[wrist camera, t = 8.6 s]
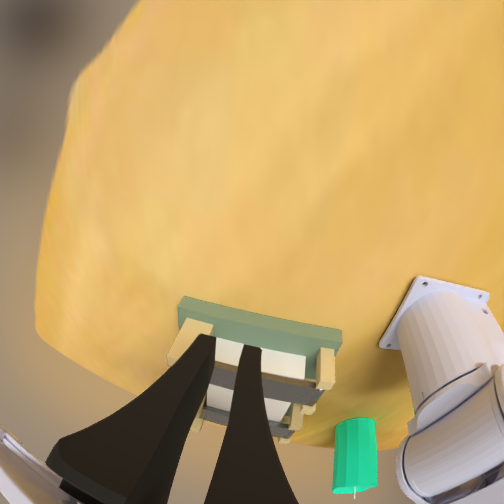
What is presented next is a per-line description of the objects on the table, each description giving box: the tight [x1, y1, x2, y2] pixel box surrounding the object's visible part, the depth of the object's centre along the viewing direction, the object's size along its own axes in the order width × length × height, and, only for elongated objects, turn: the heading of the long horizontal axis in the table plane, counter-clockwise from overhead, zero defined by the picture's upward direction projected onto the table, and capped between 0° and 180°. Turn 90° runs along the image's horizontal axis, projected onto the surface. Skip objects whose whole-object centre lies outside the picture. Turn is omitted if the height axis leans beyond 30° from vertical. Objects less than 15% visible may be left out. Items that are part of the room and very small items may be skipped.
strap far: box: [199, 405, 295, 439], centre depth 25 cm, size 11×3×1 cm, turn 81°
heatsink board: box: [167, 296, 343, 444], centre depth 24 cm, size 14×17×6 cm
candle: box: [332, 418, 378, 499], centre depth 26 cm, size 6×6×12 cm
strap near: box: [209, 361, 324, 407], centre depth 21 cm, size 11×3×1 cm, turn 81°
